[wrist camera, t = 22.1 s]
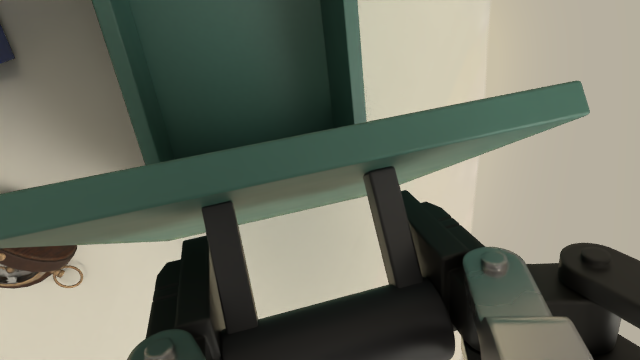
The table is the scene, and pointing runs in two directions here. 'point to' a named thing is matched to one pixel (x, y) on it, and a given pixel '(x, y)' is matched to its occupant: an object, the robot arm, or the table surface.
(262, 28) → the lunchbox
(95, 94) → the table surface
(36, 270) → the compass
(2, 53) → the block
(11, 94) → the table surface
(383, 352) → the lunchbox lid
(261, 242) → the table surface
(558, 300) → the robot arm
